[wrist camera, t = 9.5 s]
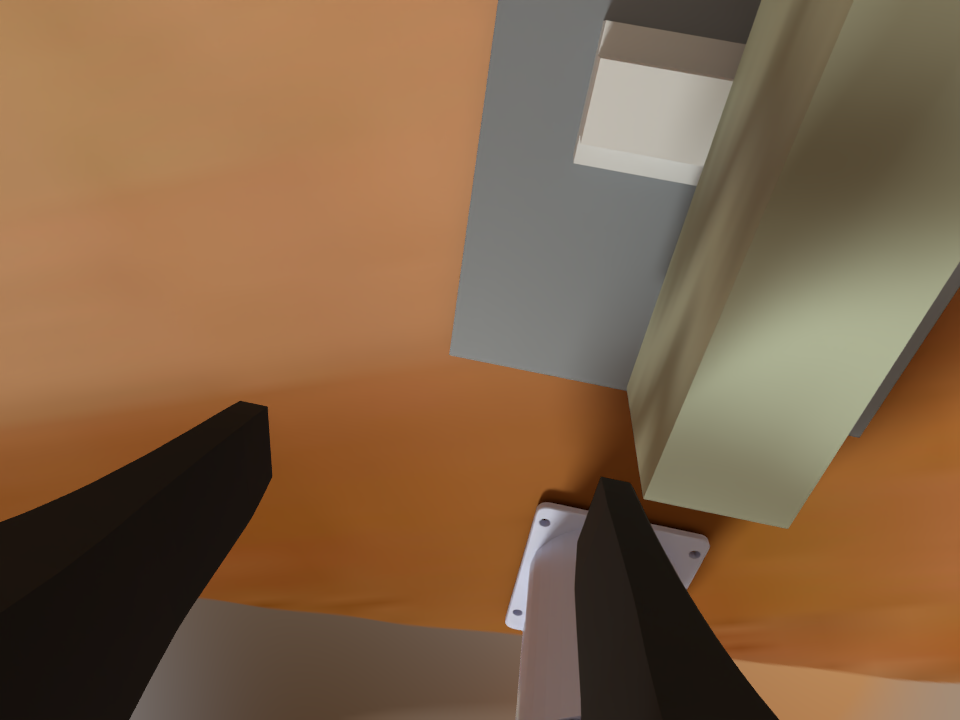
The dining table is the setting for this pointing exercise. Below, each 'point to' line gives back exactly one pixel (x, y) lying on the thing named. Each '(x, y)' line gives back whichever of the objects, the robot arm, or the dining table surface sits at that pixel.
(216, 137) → the dining table surface
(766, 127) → the bar
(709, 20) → the stand
